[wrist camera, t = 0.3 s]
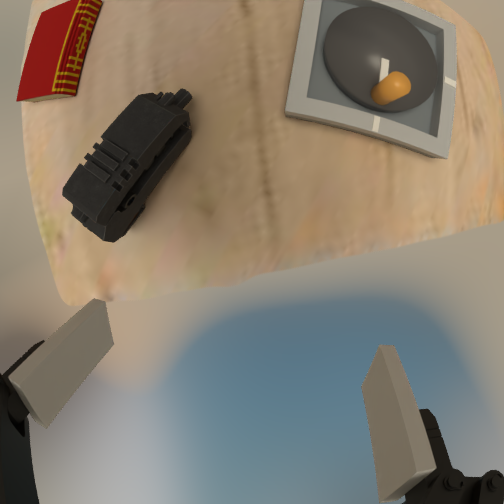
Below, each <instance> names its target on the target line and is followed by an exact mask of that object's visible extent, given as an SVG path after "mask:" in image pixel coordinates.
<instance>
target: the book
mask: <svg viewBox="0 0 504 504" xmlns="http://www.w3.org/2000/svg"><path fill="white" fill-rule="evenodd" d="M101 4H102V1H101V0H70V1H67V2H65V3H62V4H60V5H57V6H55V7H53V8H50V9H48V10H46V11H44V12H42V13H41V15H40V18H39V20H38V23H37V26H36V29H35V31H34V34H33V37H32V40H31V43H30V47H29V50H28V53H27V57H26V60H25V64H24V68H23V72H22V76H21V81H20V85H19V90H18V96H17V101H26V102H38V101H43V100H50V99H56V98H64V97H72V96H75V93H76V88H77V83H78V79H79V75H80V70H81V66H82V62H83V59H84V55H85V51H86V48H87V44H88V41H89V38H90V35H91V32H92V29H93V26H94V23H95V20H96V17H97V14H98V12H99V9H100V6H101Z"/></svg>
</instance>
